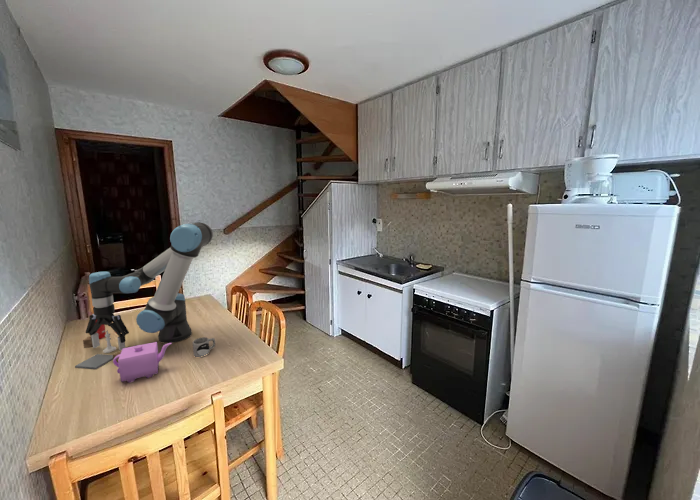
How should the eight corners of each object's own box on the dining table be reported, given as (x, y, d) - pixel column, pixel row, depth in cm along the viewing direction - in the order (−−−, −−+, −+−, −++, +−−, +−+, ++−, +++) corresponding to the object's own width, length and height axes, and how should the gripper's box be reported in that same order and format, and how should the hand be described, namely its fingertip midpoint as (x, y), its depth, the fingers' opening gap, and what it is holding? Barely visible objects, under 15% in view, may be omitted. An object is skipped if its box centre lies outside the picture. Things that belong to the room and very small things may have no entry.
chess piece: (114, 346, 142) (112, 327, 141) (117, 350, 139) (114, 330, 138) (101, 350, 139) (99, 330, 137) (104, 354, 136) (101, 333, 134)
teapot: (113, 387, 112) (109, 357, 109) (117, 374, 120) (114, 345, 118) (174, 372, 121) (171, 344, 119) (174, 361, 130) (171, 334, 128)
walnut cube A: (98, 343, 146) (97, 335, 145) (93, 347, 142) (92, 339, 141) (89, 344, 145) (88, 336, 144) (84, 348, 141) (82, 340, 140)
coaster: (117, 357, 133) (117, 355, 133) (96, 369, 123) (95, 367, 123) (97, 355, 134) (97, 353, 134) (75, 367, 124) (74, 365, 124)
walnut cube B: (129, 360, 131) (128, 351, 130) (119, 364, 127) (118, 356, 126) (123, 358, 132) (122, 350, 132) (113, 362, 129) (112, 354, 128)
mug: (198, 359, 132) (196, 345, 131) (191, 354, 136) (189, 341, 135) (219, 350, 140) (218, 337, 139) (212, 346, 144) (211, 333, 143)
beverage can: (98, 340, 149) (95, 318, 147) (90, 339, 150) (87, 317, 148) (108, 335, 154) (105, 314, 152) (100, 334, 155) (97, 313, 153)
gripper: (134, 303, 138) (139, 345, 141) (87, 301, 140) (93, 342, 144) (120, 309, 130) (126, 353, 134) (71, 306, 133) (77, 349, 136)
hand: (109, 347), depth 139 cm, fingers open, 13 cm apart
